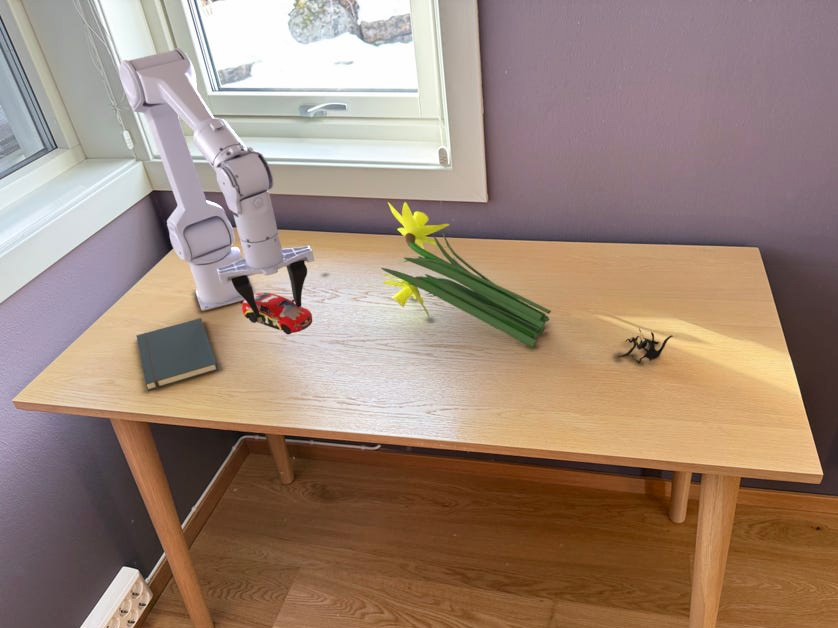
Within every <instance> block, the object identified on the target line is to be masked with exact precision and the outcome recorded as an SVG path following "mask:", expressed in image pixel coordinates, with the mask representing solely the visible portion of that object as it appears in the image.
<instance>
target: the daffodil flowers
mask: <svg viewBox="0 0 838 628" xmlns="http://www.w3.org/2000/svg"><path fill="white" fill-rule="evenodd" d="M387 204H388V206H389V209H390V212H391V213H392V215H393V216H394V218H395V219H396V220H397V221H398V222H399V223H400V224H401V225H402V226H403V227H398V228H397V229H396V230H397V231H398V232H399V233H400V234H401V235H402V236H403V237H404V239H405V242H406V244H407V246H408V247H409V248H410V249H411V250H412V251H414V252H415V253H416V254H418V255H420V256H417V257H403V261H399V262H398V263H399V264H400V263H406V262H410V263H412V264H415V265H417V266H419V267H422V268H425V269H428V270H430V271H432V272H435V273H437V274H439V275H442V276H444V277H442V276H441V277H440V276H432V275H430V274H427V273H424V275H425V276H422V275H418V276H412V275H409V274H407V273H404V272H402V271H397V270H394V269H390V268H386V267H381V270H383V271H384V272H385V273H381V272H378V274H379V275H382V276H384V277H387V278H391V279H392V280H385V281H383V282H381V284H382V285H385V286H391V287H398V288H401V290H399V291H398V292H396V293H395V294H394V295H392V296H391V298H392V299H393V300H394V301H395V302H396V303H397V304H398V305H400V306H401V307H402V308H405V305H406V304H407V302H408V300H409V299H410V297H411V296H412V298H413V300H417V301H418V302H419V304H420V305H421V306H422V307H423V309H424V311H425V313H426V315H427V317H428V318H430V314H429V311H428V310H427V308H426V306H425V305H424V299H423V297H422V296H421V293H420V290H419V289H421V290H423V291H424V292H427V293H426V294H424V295H425V296H426V295H429V296H428V298H431V297H437V298H439V299H441V300H443V301H444V302H446V303H448V304H450V305H452V306H453V307H455V308H457V309H459V310H461V311H463V312H465V313H466V314H469V315H470V316H472V317H474V318H477V319H478V320H480V321H482V322H484V323H486V324H487V325H490V326H491V327H493V328H495V329H497V330H499V331H501V332H503V333H504V334H506V335H509V336H510V337H512V338H514V339H516V340H517V341H520V342H522V343H523V344H525V345H527V346H529V347H531V348H534V346H535V344H536V342H537V336H538V335H540V336H541V335H542V334H543V333H544V330H545V329H546V327H545V325H546V323H548V322H549V321H550V317H549V316H548V315H549V314H550V313H551V312H552V310H551V309H549V308H547V307H544V306H542V305H540V304H538V303H536V302H534V301H532V300H530V299H529V298H526V297H524V296H522V295H520V294H517V292H516V293H515V292H513V291H511V290H509V289H506V288H505V287H502V286H500V285H498V284H496V283H494V282H493V281H492V280H490V279H489V278H488V277H486V276H485V275H483V274H482V273H481V272H479V271H478V270H476V269H475V268H474V267H473V266H471V264H469V263H468V262H467V261H465V260H464V259H463V258H462V257H461V256H459V254H457V253H456V252H455V250H454V249H453V247H451V245H450V243H449V241H448V238H447V237H446V235H445V232H444V231H443V229H445V228H447V227H449V226H450V223H441V224H427V223H428V222H429V220H430V219H429V217H428V214H426V212H423V211H421V212H420V210H418V211H417V210H416V211H415V212H414V213H412V211H411V209H410V207H409V205H408V203H407V202H406V201H404V203H403V206H402V208H401V210H402V211H401V214H400V213H399V212H398V210H396V209H395V207H394V206H393V205H392V204H391V203H389V202H387ZM439 231H441V233H442V236H443V239H444V242H445V244H446V246H447V247H446V246H445V245H444V246H443V245H442V244H441V243H440V241H439V240H438V239H437V238H436V236H435V234H433V233H436V232H439ZM428 235H432V237H433V239H434V240H433V239H431V238H430V237H428ZM424 243H427V244H430V245H433V246H436V247H438V248H439V250H440V251H441V253H442V256H444V257H445V258H446V260H445V259H443V258H441V257H439V256H437V255H435V254H434V253H431V252H430V251H428V250H426V249H425V247H424ZM445 249H449V251H450V252H451V254H452V255H453V256H454V257H452V256H451V255H450V254H449V253H448V252H447V251H446V250H445ZM458 260H459V261H460V262H461V263H462V264H463V265H465V266H466V267H467V268H469V269H470V270H471V271H472V272H471V271H470V270H468V269H466V268H465V267H464V266H463V265H462V264H460V263H459V261H458ZM387 273H388V274H387ZM474 273H475V274H474ZM445 277H446V278H445ZM394 280H396V281H394ZM546 314H547V315H546Z"/></svg>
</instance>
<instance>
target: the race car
mask: <svg viewBox="0 0 838 628" xmlns="http://www.w3.org/2000/svg"><path fill="white" fill-rule="evenodd" d="M253 294H254V299H255V302H256V305H257V308H258V311H259V313H260V318H256V317H255V315H254V313H253V310H252V309H251V307H250V306H249V304H248V303H247V302H246V300H243V301H242V304H241V311H242V314H243V316H244V317H245V318H246V319H248V320H249V321H250V322H251V323H253V324H255V323H258V324H259V325H260V324H261V325H263V326H265V327H269V328H272V329H274V330H278V331H282V332H283V333H284V334H285V335H287V336H288V335H289V336H290V335H291V334H294V333H299V332H303V331H304V330H306V329H307V328H309V327H311V325H312V324H313V314H312V313H311V311H310V310H309V309H308V308H306V307H303V306H300V307H297V305H296V303H295V302H294V299H292V300H290V299H289V298H286V297H284V296H282V295H279V294H275V293H271V292H257V293H253Z"/></svg>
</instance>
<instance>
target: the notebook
mask: <svg viewBox="0 0 838 628" xmlns="http://www.w3.org/2000/svg"><path fill="white" fill-rule="evenodd" d="M136 341H137V346H138V351H139V357H140V362H141V367H142V372H143V377H144V383H145V385H146V386H147V392H149V391H152V390H156V389H160V388H163V387H167V386H169V385H173V384H177V383H180V382H184V381H187V380H190V379H194V378H197V377H201V376H203V375H207V374H210V373H214V372H218V371H219V368H218V364H217V361H216V359H215V355H214V353H213V350H212V346H211V343H210V341H209V337H208V334H207V331H206V328H205V325H204V322H203V319H202V317H198V318H195V319H193V320H192V319H191V320H189V321H184V322H181V323H177V324H173V325H170V326H169V325H168V326H166V327H162V328H159V329H155V330H151V331H148V332H143V333H140V334H137V335H136Z"/></svg>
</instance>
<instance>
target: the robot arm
mask: <svg viewBox="0 0 838 628" xmlns="http://www.w3.org/2000/svg"><path fill="white" fill-rule="evenodd" d="M118 71H119V73H118V74H119V79H120V82H121V85H122V88H123V90H124V93H125V97H126V98H127V101H128V104H129V106H130V107H131V110H132V111H133V112H135V113H142V114H143V115H144V118H145V119H146V121H147V124H148V126H149V129H150V132H151V134H152V137H153V140H154V142H155V146H156V148H157V151H158V154H159V157H160V159H161V160H160V161H161V163H162V166H163V168H164V171H165V174H166V176H167V180H168V182H169V185H170V187H171V190H172V194H173V195H174V199H175V202H176V204H177V205H176V208H175V209H174V210H173V211H172V213H171V214H170V216H169V217H168V218H167V220H166V223H167V224H166V226H167V229H168V233H169V239H170V244H171V246H172V249H173V250H174V252H175V254H176V255H177V257H178V258H179V259H180V260H181V261H183V262H185V263H188V265H189V268H190V271H191V274H192V278H193V281H194V285H195V287H196V290H195V295H196V298H197V302H198V304H199V307H200V310H201V311H203V312H205V311H209V310H213V309H216V308H219V307H225V306H227V305H231V304H235V303H240V302H243V301H244V300H246V302H247V303H248V304H249V306H250V307H251V309H252V310H253V313H254V315H255V317H256V318H260V313H259V311H258V308H257V305H256V302H255V299H254V294H255V293H254V290H253V286H252V283H251V280H250V276H254V275H264V276H270V275H274V274H277V273H278V272H279V270H280V269H282V268H284V267H285V268H286V270H287V274H288V277H289V281H290V287H291V293H292V297H293V300H294V303H295V304H296V305H297V307H300V306H301V307H303V305H302V295H303V288H304V283H305V280H306V278H307V276H308V267H307V265H306V263H313V262H315V258H314V254H313V250H312V248H311V247H310V245H305V246H304V245H303V246H299V247H298V246H297V247H290V248H282V243H281V239H280V234H279V230H278V226H277V220H276V217H275V213H274V208H273V205H272V200H271V196H270V191H269V190H271V189H273V187H274V176H273V172H272V169H271V166H270V165H269V163H268V160H267V159H266V157H265V156H264V155H263V154H262V152H260V151H259V150H256V149H254V148H253V147H252V146H249V147H247V146H246V145H245V143H244V142H243V141H242V139H241V138H240V137H239V136H238V135H237V133H236V132H235V131H234V129H233V128H232V127H231V126H230V124H229V123H228V122H227V121H226V120H224V119H223V118H218V117H215V116H214V115H213V113H212V112H211V110H210V109H209V107H208V106H207V104H206V102H205V101H204V99H203V97H202V96H201V94H200V93H199V91H198V88H197V75H196V71H195V68H194V64H193V63H192V61H191V59H190V56H189V55H188V54H187V53H186V52H185V51H183V50H182V49H181V48H178V47H175V48H173V49H172V50H167V51H164V52H159V53H155V54H151V55H145V56H143V57H138V58H133V59H128V60H127V59H124V60H122V61H120V65H119V69H118ZM180 118H181V119H182V121H184V122H185V124H186V125H187V126H189V128H190V129H191V130H192V131H193V135H192V140H193V144H194V146H195V147H196V148H197V150H198V151H199V152H200V153H201V155H202V156H203V158H204V159H205V160H206V161H207V162H208V164H209V165H210V167H211V168H212V169H213V171H214V172H215V175H216V178H215V179H216V182H217V184H218V187H219V189H220V191H221V193H222V195H223V197H224V199H225V202H226V206H227V207H228V209H229V210H230V211H231V212H232V214H233V219H234V222H235V226H236V229H237V234H238V238H239V241H240V245H241V248H242V252H243V256H244V257H242V253H241V250H240V248H239V246H233V245H234V243H235V239H236V235H235V231H234V228H233V226H232V224H231V221H230V220H229V218H228V216H227V214H226V210H224V208H223V207H222V206H221V205H219V204H218V203H216V202H213V201H211V200H207V198H206V196H205V192H204V189H203V185H202V184H201V180H200V177H199V174H198V172H197V169H196V166H195V163H194V160H193V157H192V154H191V151H190V147H189V145H188V141H187V138H186V136H185V133H184V130H183V127H182V124H181V120H180ZM231 246H232V247H231Z"/></svg>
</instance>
